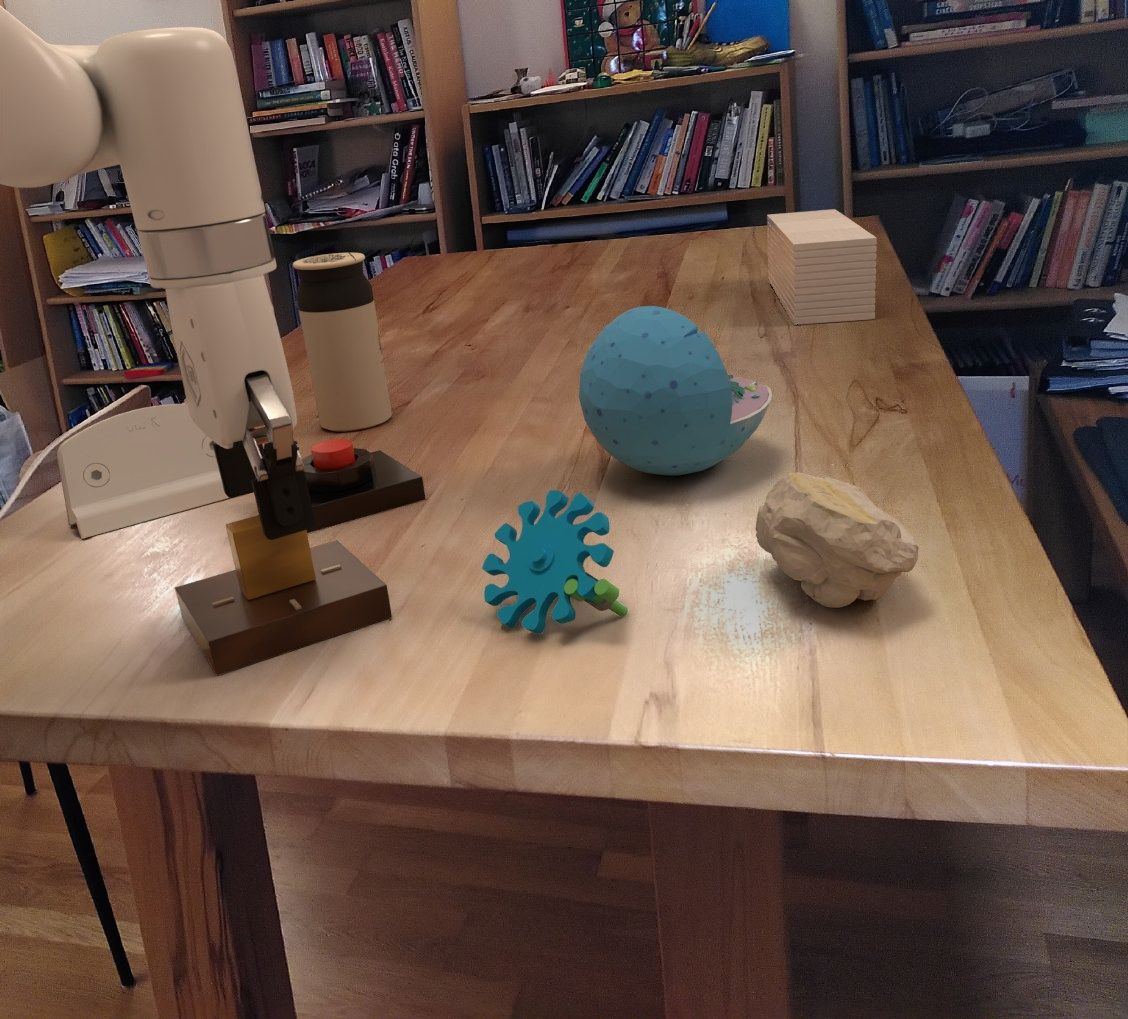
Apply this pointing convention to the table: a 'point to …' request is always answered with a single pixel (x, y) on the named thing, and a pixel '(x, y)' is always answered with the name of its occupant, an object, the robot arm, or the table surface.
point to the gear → (551, 564)
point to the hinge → (137, 469)
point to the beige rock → (833, 539)
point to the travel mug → (342, 342)
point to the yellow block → (268, 558)
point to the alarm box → (360, 488)
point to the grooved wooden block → (822, 266)
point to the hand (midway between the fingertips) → (268, 511)
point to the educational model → (665, 395)
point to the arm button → (333, 453)
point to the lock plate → (282, 610)
